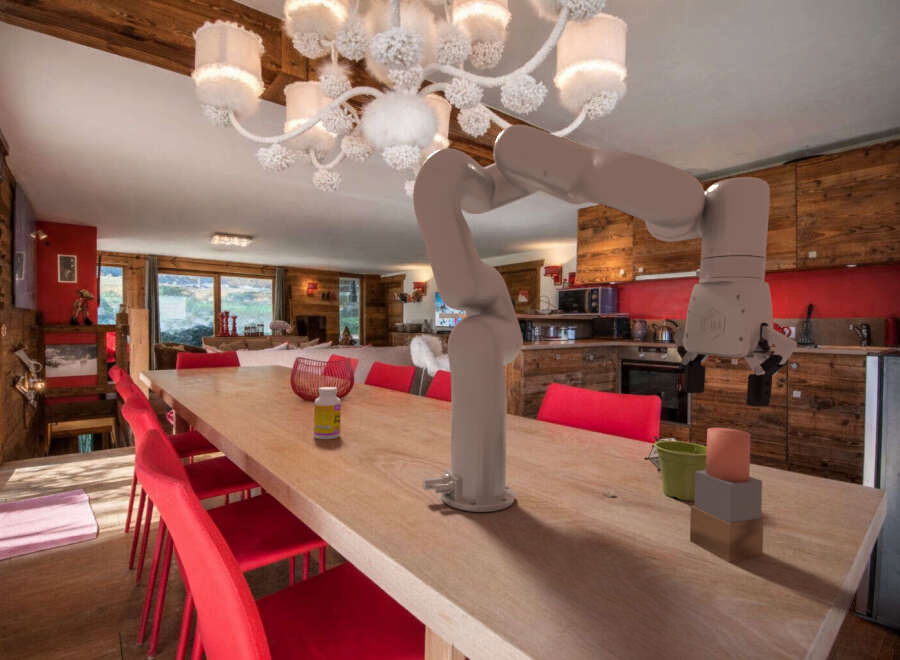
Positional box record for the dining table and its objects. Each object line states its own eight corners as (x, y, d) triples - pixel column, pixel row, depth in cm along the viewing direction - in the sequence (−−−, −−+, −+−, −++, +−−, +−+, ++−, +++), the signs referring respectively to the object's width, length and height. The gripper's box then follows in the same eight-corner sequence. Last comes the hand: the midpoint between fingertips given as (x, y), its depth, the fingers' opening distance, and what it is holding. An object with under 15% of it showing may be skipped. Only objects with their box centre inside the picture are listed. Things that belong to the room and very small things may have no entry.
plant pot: (645, 485, 86) (645, 439, 85) (695, 486, 85) (696, 440, 85) (667, 504, 76) (668, 453, 76) (723, 506, 76) (725, 455, 76)
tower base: (728, 563, 58) (729, 524, 58) (689, 541, 63) (690, 506, 63) (762, 555, 60) (763, 518, 59) (721, 535, 65) (722, 501, 65)
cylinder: (730, 483, 58) (731, 437, 58) (697, 471, 63) (698, 428, 63) (758, 480, 60) (759, 435, 60) (724, 468, 64) (725, 426, 64)
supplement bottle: (336, 440, 114) (337, 390, 114) (310, 440, 114) (311, 389, 114) (343, 434, 121) (343, 386, 121) (318, 433, 121) (319, 386, 121)
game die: (679, 496, 90) (706, 466, 84) (637, 478, 91) (660, 447, 85) (677, 464, 97) (702, 433, 91) (638, 447, 98) (660, 416, 93)
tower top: (729, 523, 58) (730, 484, 58) (694, 506, 63) (695, 471, 63) (761, 518, 59) (762, 480, 59) (724, 502, 65) (725, 468, 65)
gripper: (660, 276, 68) (654, 388, 68) (775, 265, 52) (766, 413, 52) (698, 279, 70) (692, 388, 71) (820, 270, 54) (810, 411, 54)
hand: (723, 398), depth 61 cm, fingers open, 9 cm apart
